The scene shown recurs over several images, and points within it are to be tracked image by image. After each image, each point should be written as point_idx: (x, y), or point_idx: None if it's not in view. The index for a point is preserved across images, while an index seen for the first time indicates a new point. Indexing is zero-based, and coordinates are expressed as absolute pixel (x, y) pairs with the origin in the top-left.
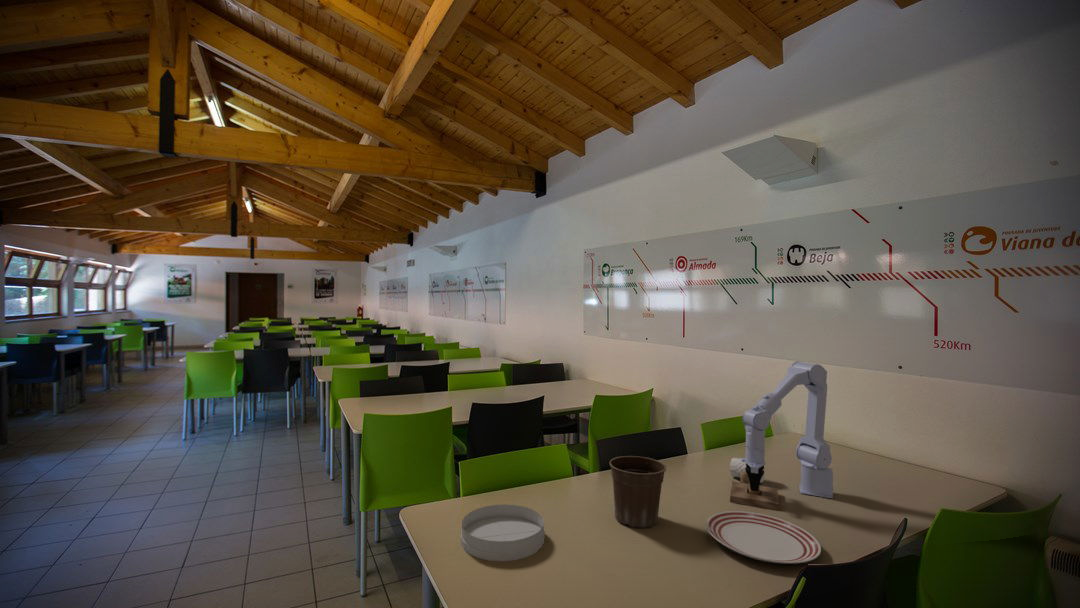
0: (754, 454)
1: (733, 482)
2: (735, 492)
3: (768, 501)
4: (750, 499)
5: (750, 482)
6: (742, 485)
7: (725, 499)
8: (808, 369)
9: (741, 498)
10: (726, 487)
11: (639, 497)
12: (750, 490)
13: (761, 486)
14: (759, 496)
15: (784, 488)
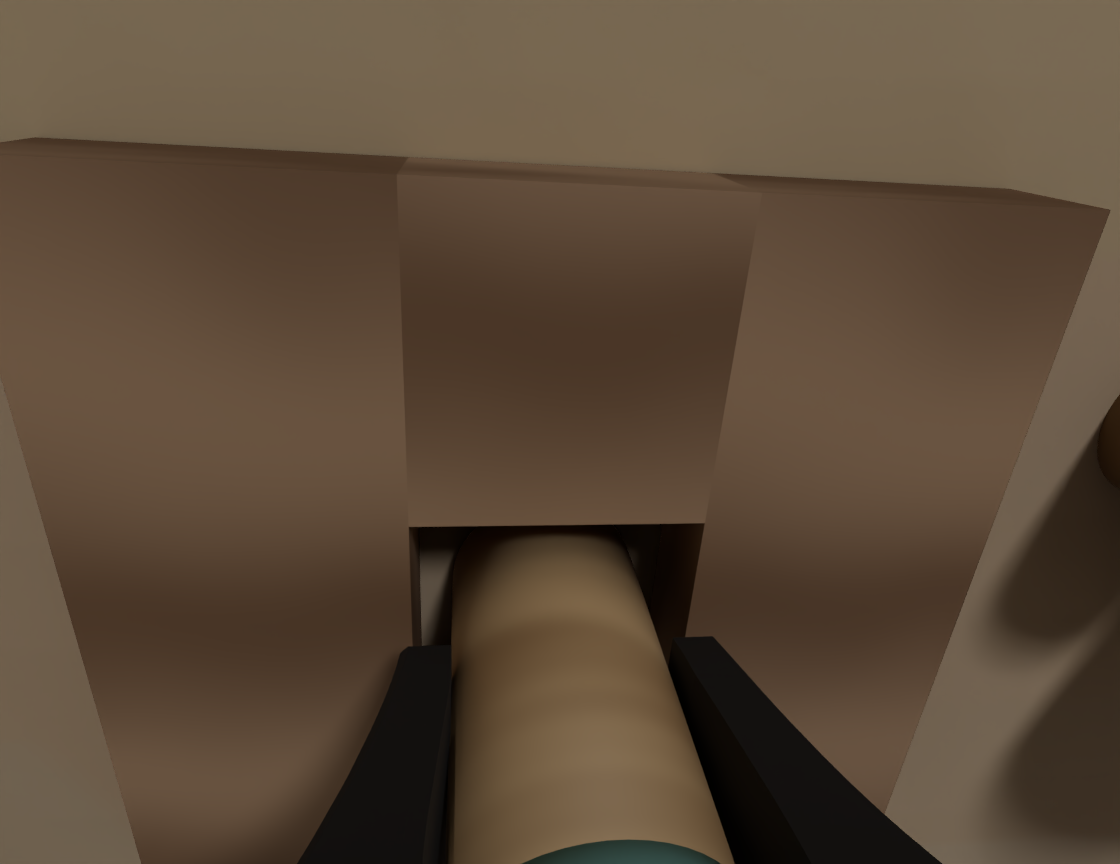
0: None
1: (1034, 233)
2: (301, 292)
3: (162, 838)
4: (69, 594)
5: (337, 815)
6: (865, 432)
7: (138, 18)
8: None
9: (30, 424)
10: (977, 49)
11: None
12: (483, 612)
13: (890, 718)
14: (338, 721)
15: (1053, 843)
